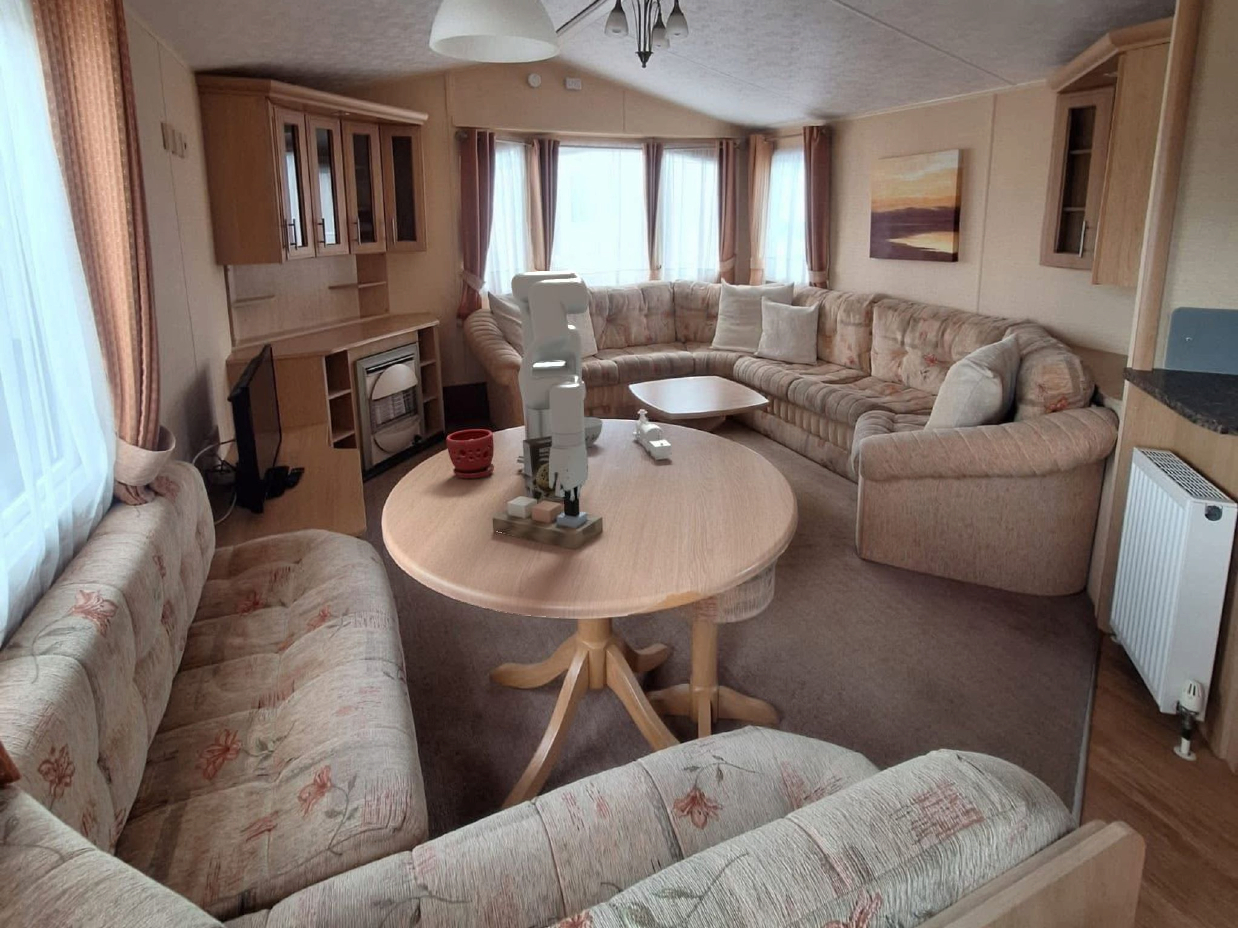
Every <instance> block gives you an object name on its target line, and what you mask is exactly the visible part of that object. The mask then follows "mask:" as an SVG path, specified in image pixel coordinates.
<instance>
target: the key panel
mask: <svg viewBox="0 0 1238 928" xmlns="http://www.w3.org/2000/svg"><path fill="white" fill-rule="evenodd" d="M563 512H564V508H562V513H563ZM491 521H492V531H498V532H502V533H505V534H509V535H508V536H510V535H514V536H513V537H515V536H516V537H515V538H519V537H521V538H520V539H524V538H525V540H529V541H532V542H533V541H534V542H539V543H542V544H547V545H553V546H556V547H557V546H558V547H562V548H566V549H571V550H577V549H579V548H580V547H582V545H584V544H586V543H587V542H589V541H590V540H591V539H593V538H595V537H596V536H598V535H599V534H600V533H602V532H604V528H603V516H602V515H596V514H592V513H587V522H585V523H583V524H582V525H580V526H579V527H577V528H572V527H567V526H562V525H557V519H556V520H555V521H553V522H551V523H547V522H542V521H537V520H532V515H530V516H529V517H527V518H522V517H517V516H512V515H508V509H505V510H503V512H500V513H498V514H497V515H495V516H493V517H491ZM505 534H504V535H505Z"/></svg>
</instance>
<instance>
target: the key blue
mask: <svg viewBox="0 0 1238 928" xmlns="http://www.w3.org/2000/svg"><path fill="white" fill-rule="evenodd" d="M587 514H588V513H587V512H585V511H580V514H579V515H577V516H576V517H573V516H568V515H565V514H564V512H563V513H562V514H560V515H558V516H557V525H562V526H567V527H572V528H577V527H579V526H580V525H582V524H583V523H585V522H587Z"/></svg>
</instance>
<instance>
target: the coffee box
mask: <svg viewBox="0 0 1238 928" xmlns="http://www.w3.org/2000/svg"><path fill="white" fill-rule="evenodd" d="M551 446H552V442H551V436H548V437H541V438H535V439H528V440H526V439H524V440H522V449H523V450H522V452H523V453H522V455H524V463H523V468H524V475H525V476H524V475H523V476H524V491H525V493H524V494H525V497H527V498H533V499H537V504H538V503H540V502H542V501H549V502H554V503H555V502H558V501H564V500H563V499H562V497H557V496H555V492H556V488H554V489H551V488H550V487H549V455H550V448H551Z"/></svg>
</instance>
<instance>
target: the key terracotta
mask: <svg viewBox="0 0 1238 928" xmlns="http://www.w3.org/2000/svg"><path fill="white" fill-rule="evenodd" d="M531 508H532V520H537V521H542V522H547V523H551V522H553V521H555V520H556V519H557V516H558V515H560V514H562V509H563V508H562V503H559V502H555V501H554V502H549V501H542V502H540V503H538V504H537V505H535V506H533V507H531Z"/></svg>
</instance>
